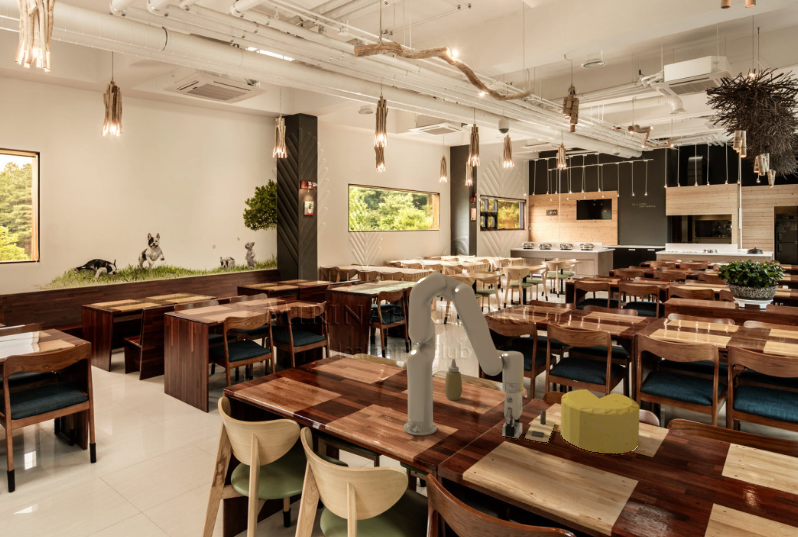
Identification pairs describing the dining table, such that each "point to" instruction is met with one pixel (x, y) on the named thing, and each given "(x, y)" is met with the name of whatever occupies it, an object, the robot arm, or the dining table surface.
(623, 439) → the cheese
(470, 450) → the dining table surface
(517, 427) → the link
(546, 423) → the peg board
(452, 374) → the squeeze bottle
